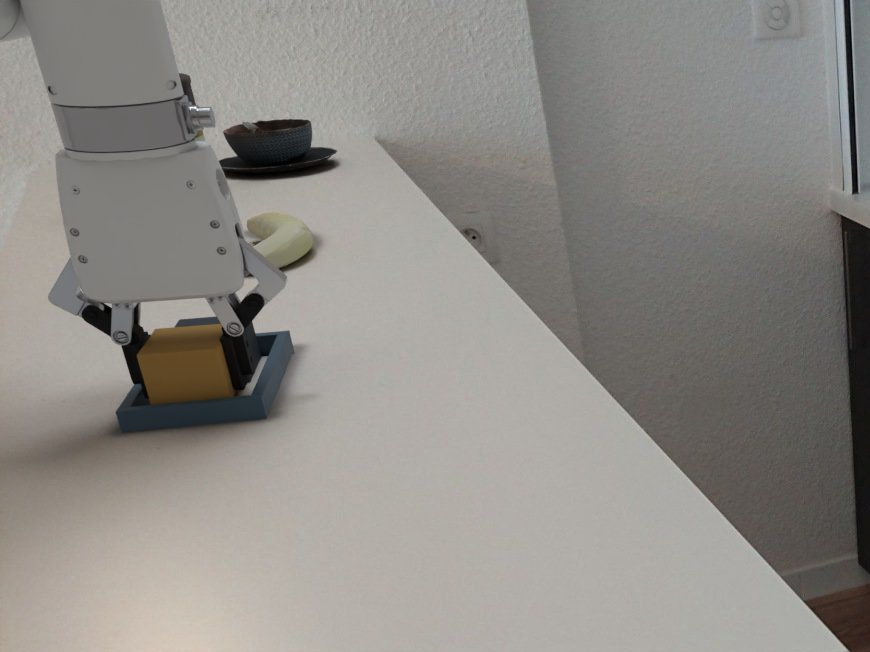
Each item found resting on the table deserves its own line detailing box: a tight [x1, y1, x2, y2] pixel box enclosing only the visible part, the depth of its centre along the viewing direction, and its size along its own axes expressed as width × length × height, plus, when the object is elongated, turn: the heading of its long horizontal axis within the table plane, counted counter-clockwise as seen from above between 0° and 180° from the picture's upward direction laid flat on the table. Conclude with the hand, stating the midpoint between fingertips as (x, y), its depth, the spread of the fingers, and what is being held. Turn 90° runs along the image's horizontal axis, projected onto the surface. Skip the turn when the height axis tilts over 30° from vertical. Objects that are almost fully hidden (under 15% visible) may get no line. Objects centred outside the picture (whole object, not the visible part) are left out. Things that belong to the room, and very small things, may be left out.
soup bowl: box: [218, 118, 338, 174], centre depth 168 cm, size 15×16×7 cm
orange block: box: [137, 324, 237, 405], centre depth 92 cm, size 6×5×4 cm
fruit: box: [246, 211, 315, 275], centre depth 131 cm, size 7×15×3 cm, turn 18°
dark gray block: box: [174, 316, 262, 383], centre depth 98 cm, size 6×5×4 cm
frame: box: [114, 330, 295, 434], centre depth 96 cm, size 16×9×2 cm, turn 18°
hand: (198, 385), depth 92 cm, fingers closed on orange block, 4 cm apart
